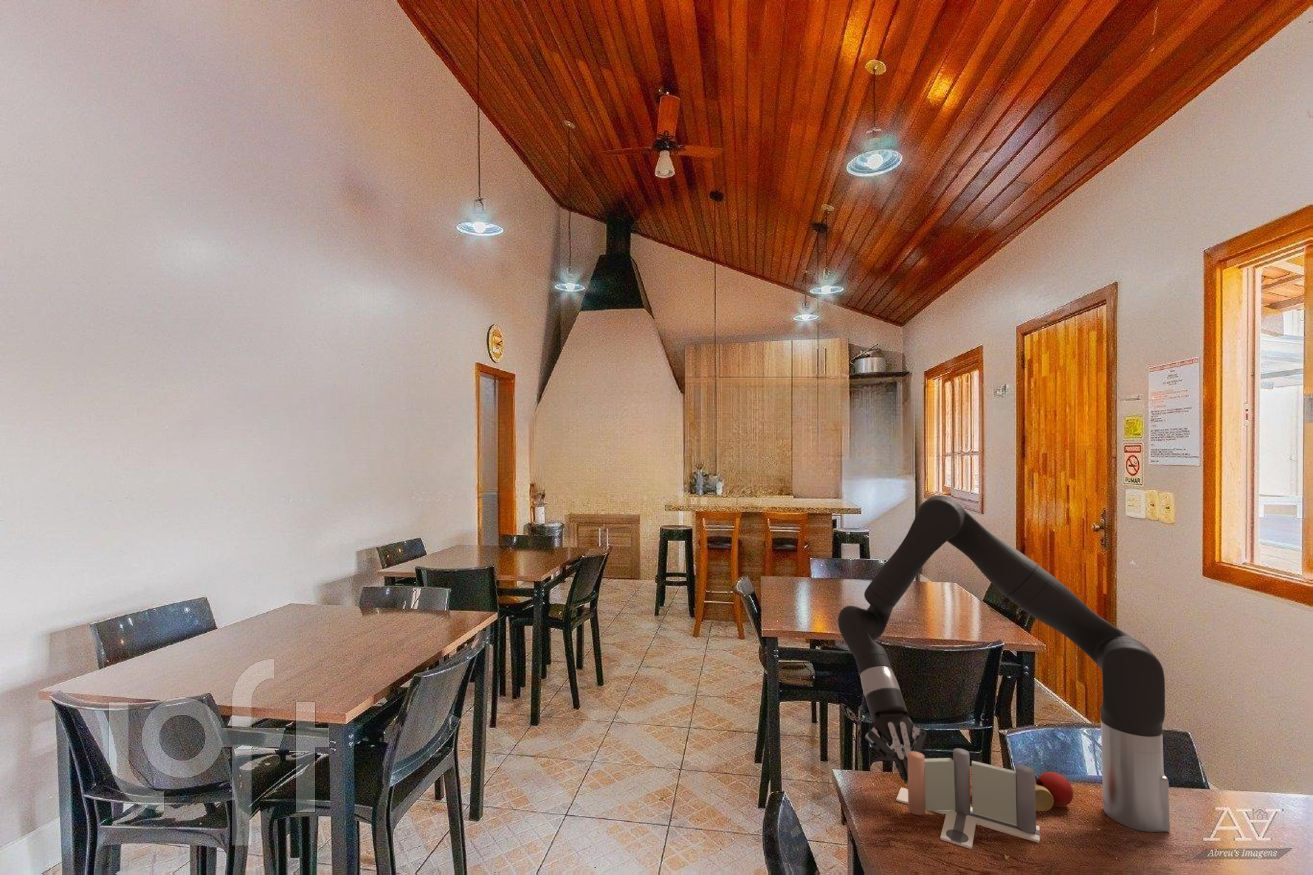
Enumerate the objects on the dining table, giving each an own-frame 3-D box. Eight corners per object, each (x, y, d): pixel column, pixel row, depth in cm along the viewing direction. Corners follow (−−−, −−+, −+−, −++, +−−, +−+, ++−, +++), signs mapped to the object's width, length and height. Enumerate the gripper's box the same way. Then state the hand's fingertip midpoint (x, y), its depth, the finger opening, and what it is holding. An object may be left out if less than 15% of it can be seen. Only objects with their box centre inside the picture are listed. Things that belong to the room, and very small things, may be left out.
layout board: (1039, 828, 109) (1039, 825, 109) (1040, 870, 98) (1040, 867, 98) (901, 789, 122) (901, 786, 122) (887, 822, 111) (887, 820, 111)
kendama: (987, 819, 114) (1086, 812, 112) (979, 783, 116) (1077, 776, 114) (972, 804, 122) (1064, 797, 120) (965, 770, 123) (1056, 763, 121)
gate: (948, 804, 115) (948, 750, 116) (957, 813, 112) (956, 758, 113) (905, 805, 115) (904, 751, 115) (912, 815, 112) (912, 759, 112)
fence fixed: (1036, 827, 109) (1034, 765, 109) (1036, 836, 106) (1034, 772, 107) (955, 804, 116) (954, 746, 116) (953, 812, 113) (952, 753, 114)
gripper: (858, 686, 125) (884, 777, 113) (918, 685, 126) (950, 775, 114) (847, 701, 130) (871, 789, 118) (905, 699, 131) (935, 787, 119)
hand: (910, 782), depth 116 cm, fingers closed
